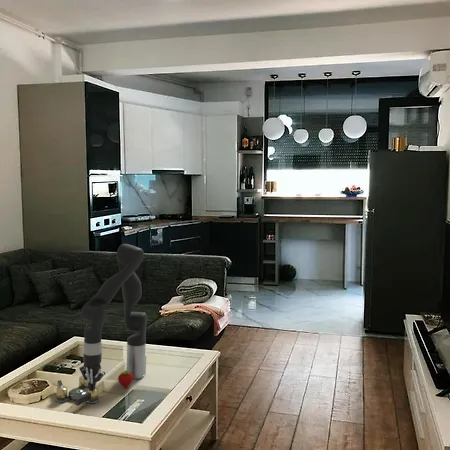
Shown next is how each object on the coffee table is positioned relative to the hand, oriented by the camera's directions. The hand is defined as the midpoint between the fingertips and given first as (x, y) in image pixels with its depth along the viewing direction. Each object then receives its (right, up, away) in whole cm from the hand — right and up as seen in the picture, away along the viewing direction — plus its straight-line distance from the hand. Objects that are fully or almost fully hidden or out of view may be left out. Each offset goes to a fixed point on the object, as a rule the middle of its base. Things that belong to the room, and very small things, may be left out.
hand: (91, 390), depth 213 cm
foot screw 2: (-5, -8, +9) cm, 13 cm away
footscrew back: (-8, -6, +27) cm, 29 cm away
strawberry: (+9, -8, +26) cm, 29 cm away
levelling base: (-8, -8, +15) cm, 19 cm away
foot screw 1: (-18, -7, +15) cm, 24 cm away
